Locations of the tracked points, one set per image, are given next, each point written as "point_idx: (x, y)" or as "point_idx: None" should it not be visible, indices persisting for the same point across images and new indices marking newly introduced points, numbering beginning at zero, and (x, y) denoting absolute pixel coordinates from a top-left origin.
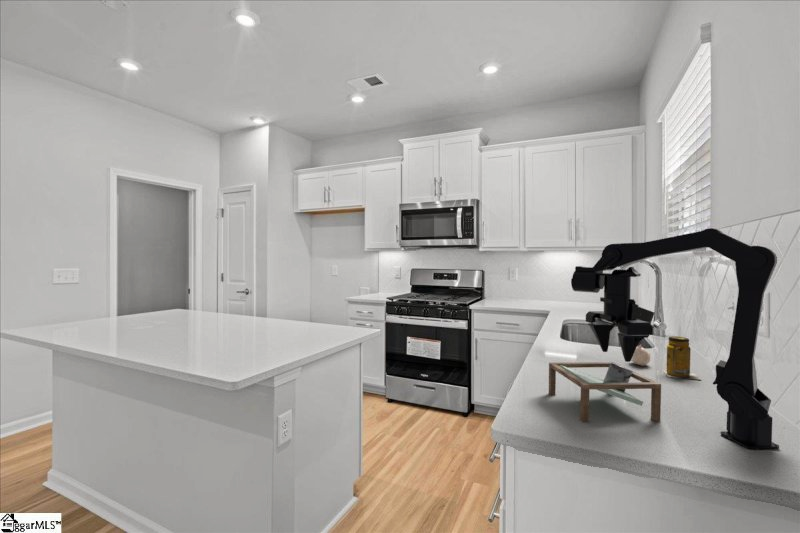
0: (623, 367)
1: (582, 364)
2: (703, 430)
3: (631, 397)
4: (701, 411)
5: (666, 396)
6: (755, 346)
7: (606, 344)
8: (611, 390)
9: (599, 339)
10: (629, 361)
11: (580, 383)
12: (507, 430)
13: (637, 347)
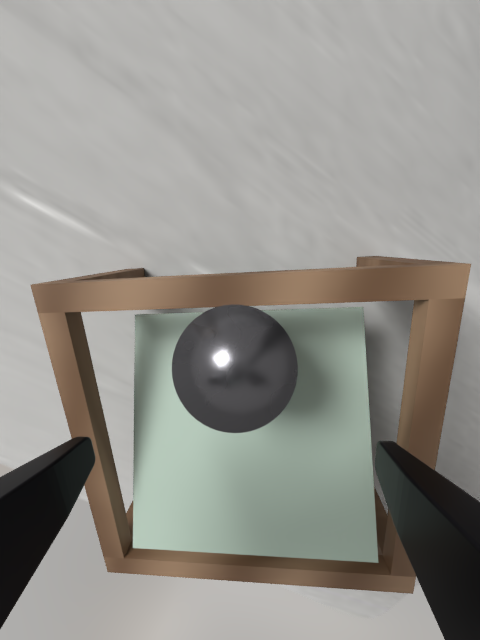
0: (221, 346)
1: (101, 455)
2: (467, 150)
3: (359, 355)
4: (305, 4)
5: (140, 53)
6: None
7: (41, 495)
8: (371, 450)
9: (6, 609)
10: (389, 445)
11: (385, 589)
12: (379, 611)
13: None
